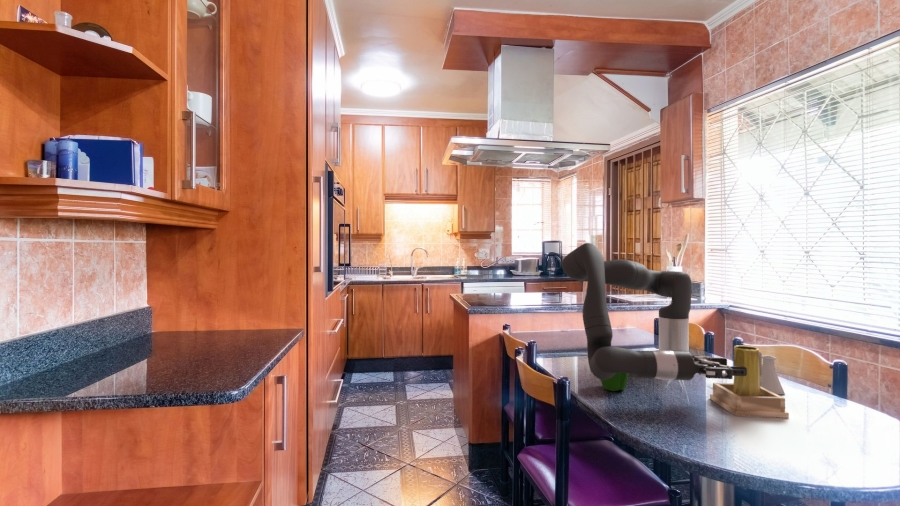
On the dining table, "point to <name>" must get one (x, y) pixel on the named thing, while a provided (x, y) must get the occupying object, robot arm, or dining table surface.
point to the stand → (749, 400)
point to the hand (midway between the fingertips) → (735, 366)
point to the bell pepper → (616, 382)
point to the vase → (751, 381)
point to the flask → (770, 376)
